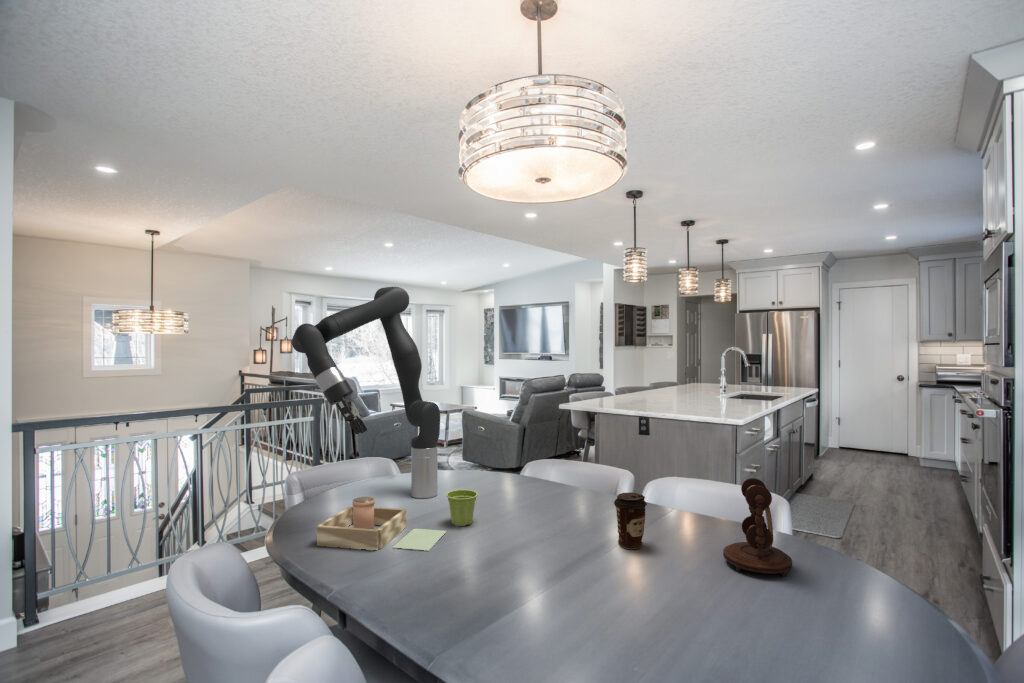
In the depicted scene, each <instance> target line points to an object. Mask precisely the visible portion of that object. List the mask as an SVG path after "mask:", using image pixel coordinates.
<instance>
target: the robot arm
mask: <svg viewBox="0 0 1024 683" xmlns="http://www.w3.org/2000/svg"><path fill="white" fill-rule="evenodd" d="M409 305H410V296H409V293H408V292H407V291H406V290H405V288H402V287H399V286H385V287H381V288H378V289H377V290H376V292H375V293H374V296H373V300H370V301H368V302H365V303H362V304H359V305H355V306H352V307H348V308H346V309H342V310H339V311H337V312H334V313H332V314H330V315H328V316H325V317H324V318H322V319H321V320H320V321H319V322H318V323H317V324H315V325H313V324H311V323H302V324H300V325H299V326H298V327H297V328H296V329H295V331H294V333H293V335H292V337H291V338H292V339H291V346H292V348H293V349H294V351H296V352H297V353H301V354H305V356H306V358H307V359H306V362H307V366H308V370H310V372H311V374H312V376H313V377H314V380H316V383H317V386H318V387H319V389H320V391H321V392H322V394H323V396H324V397H325V399H326V401H327V402H328V404H329V405H330V406H334V405H335V406H336V407H337V409H338V410H339V412H340V414H341V416H342V417H343V419H344V421H345V422H347V424H349V425H350V427H351V429H352V430H353V432H354V433H355V435H359V434H364V433H365V432H367V431H368V428H367V426H366V424H365V423H364V421H363V419H362V418H363V417H362V414H361V413H360V412H359V409H358V408H357V407H356V405H355V402H354V401H353V400H351V401H350V399H349V397H350V396H353V394H354V390H353V389H352V388H351V386H350V384H349V382H348V380H347V379H346V377H345V376H344V373H343V372H342V371H341V370H340V369H339V367H338V365H337V364H336V362H335V361H334V359H333V358H332V356H331V354H330V352H329V349H328V346H327V343H328V342H330V341H332V340H334V339H336V338H339V337H341V336H343V335H346V334H347V333H349V332H352V331H354V330H356V329H358V328H360V327H362V326H365V325H367V324H369V323H371V322H374V321H376V320H378V319H379V320H380V322H381V323H380V324H381V325H382V327H383V330H384V334H385V338H386V341H387V344H388V346H389V350H390V355H391V358H392V363H393V366H394V369H395V372H396V375H397V379H398V382H399V387H400V391H401V394H402V395H401V396H402V399H403V406H404V412H405V416H406V419H407V422H408V423H409V424H410V425H411V426H413V427H417V428H418V431H419V432H418V435H417V436H415V437H413V438H412V439H411V442H410V448H411V449H410V451H411V452H410V456H411V458H410V461H411V463H410V465H411V468H410V469H411V470H410V471H411V472H410V480H411V492H410V494H411V497H413V498H415V499H416V498H417V499H430V498H434V497H436V496H438V494H439V493H438V489H439V486H438V485H439V481H438V480H439V479H438V478H439V476H438V473H439V472H438V465H439V464H438V442H439V438H440V434H441V433H440V430H441V410H440V408H439V406H438V404H437V403H435V402H432V401H425V400H423V398H422V394H421V391H420V387H419V385H420V378H421V373H422V367H423V366H422V360H421V355H420V352H419V349H418V346H417V345H416V342H415V340H414V339H413V337H412V336H411V335H410V334H409V332H408V331H407V329H406V328H405V325H404V323H403V321H402V316H401V313H403V312H404V311H405V310H407V309H408V307H409Z"/></svg>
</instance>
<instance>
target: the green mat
mask: <svg viewBox="0 0 1024 683" xmlns="http://www.w3.org/2000/svg"><path fill="white" fill-rule="evenodd" d="M447 532H448V531H447V530H441V529H440V530H439V529H426V528H425V529H424V528H413V529H412V530H411V531H409V532H408V533H407V534H406V535H405V536H404V537H403V538H401V539H400V540H399V541H398V542H397V543H396V544H395V545H394V546H392V549H393V548H402V549H401V550H405V549H413V550H412V551H418V550H424V551H423V552H430V551H431V550H432V548H434V547H435V546H436V544H438V543H439V541H440V540H441V539H442V538H443V537H444V536H443V535H444V534H445V533H446V534H447ZM446 534H445V535H446ZM442 536H443V537H442ZM441 537H442V538H441ZM440 538H441V539H440ZM439 539H440V540H439ZM438 540H439V541H438ZM430 549H431V550H430ZM429 550H430V551H429Z"/></svg>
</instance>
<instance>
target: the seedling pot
mask: <svg viewBox="0 0 1024 683" xmlns="http://www.w3.org/2000/svg"><path fill="white" fill-rule="evenodd" d="M351 504H352V506H353V524H352V526H353V527H352V528H362V529H375V525H374V507H375V504H376V498H375V497H373V496H359V497H356V498H353V499H352V503H351Z"/></svg>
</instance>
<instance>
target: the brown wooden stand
mask: <svg viewBox="0 0 1024 683" xmlns="http://www.w3.org/2000/svg"><path fill="white" fill-rule="evenodd" d="M740 488H741V489H740V490H741V494H742V496H743V497H744V498H745V501H746V503H747V504H748V510H749V512H750V515H749V516H747V517H745V518H743V520H742V523H741V531H742V532H743V534H744V535H745V541H738V542H734V543H731V544H729V545H727V546H725V547H724V548H723V550H722V551H723V554H722V555H723V558H724V559H725V561H726V562H728V564H729V563H730V564H731V565H732V566H734V567H735V570H736V572H737V573H740V572H741V569H742V570H745V571H750V572H754V573H761V574H780V575H781V577H782V578H785V577H786V575H787V572H789V571H790V570H792V568H793V559H792V558H791V556H790V555H788V553H786V552H784V551H782V550H781V549H779V548H778V547H777V548H776V547H775V546H773V544H774V530H773V529H774V528H773V527H774V526H773V519H772V512H771V508H770V506H771V504H772V503H773V497H772V493H771V492H770V490H769V489H768V488H767V486H766V484H765V483H764V482H763V481H762V480H760V479H758V478H755V477H751V478H747V479H746V480H744V481H743V482H742V484H741V487H740ZM764 512H765V516H766V520H765V517H764ZM765 521H766V522H765Z"/></svg>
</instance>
